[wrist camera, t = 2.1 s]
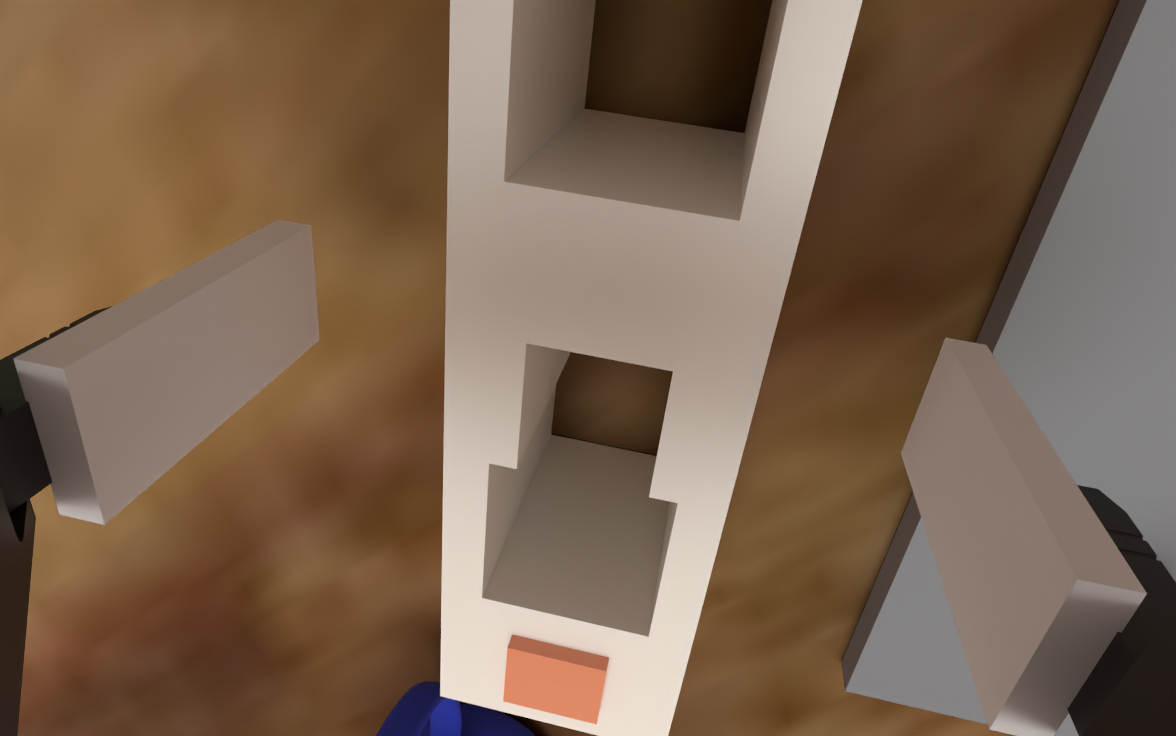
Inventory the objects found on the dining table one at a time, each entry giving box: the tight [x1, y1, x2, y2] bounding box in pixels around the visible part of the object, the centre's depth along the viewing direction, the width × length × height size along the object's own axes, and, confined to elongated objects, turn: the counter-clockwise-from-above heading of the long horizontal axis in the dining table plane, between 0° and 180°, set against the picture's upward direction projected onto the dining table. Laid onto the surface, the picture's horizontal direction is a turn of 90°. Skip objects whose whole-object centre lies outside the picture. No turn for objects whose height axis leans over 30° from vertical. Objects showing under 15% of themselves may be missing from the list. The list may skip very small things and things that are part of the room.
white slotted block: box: [440, 0, 863, 736], centre depth 17 cm, size 22×6×7 cm, turn 174°
